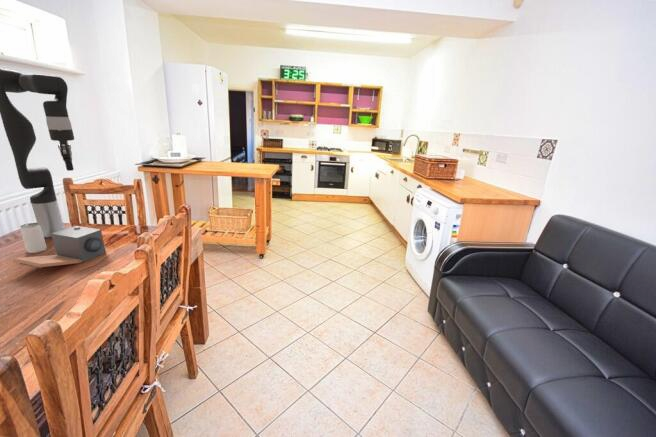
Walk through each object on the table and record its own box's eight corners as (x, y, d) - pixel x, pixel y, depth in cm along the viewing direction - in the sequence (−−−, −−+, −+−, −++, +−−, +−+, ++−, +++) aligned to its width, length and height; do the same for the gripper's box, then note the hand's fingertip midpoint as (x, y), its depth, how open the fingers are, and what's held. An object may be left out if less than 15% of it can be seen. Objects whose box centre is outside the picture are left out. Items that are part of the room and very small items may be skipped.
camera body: (109, 253, 131) (104, 228, 128) (87, 263, 122) (80, 237, 118) (81, 248, 135) (75, 224, 131) (57, 257, 126) (50, 232, 122)
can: (34, 254, 128) (26, 228, 124) (23, 252, 129) (14, 226, 125) (50, 248, 134) (43, 223, 130) (39, 246, 135) (31, 221, 131)
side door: (82, 259, 122) (40, 263, 108) (82, 264, 122) (40, 269, 108) (57, 254, 125) (13, 258, 111) (56, 259, 125) (12, 263, 111)
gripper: (49, 127, 125) (60, 168, 131) (46, 129, 115) (57, 173, 121) (72, 127, 129) (81, 167, 135) (71, 129, 119) (81, 172, 125)
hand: (70, 170), depth 128 cm, fingers closed
